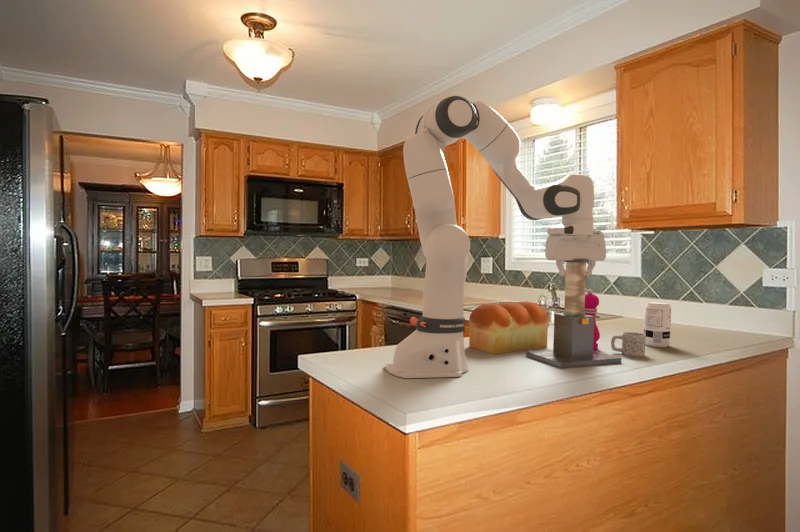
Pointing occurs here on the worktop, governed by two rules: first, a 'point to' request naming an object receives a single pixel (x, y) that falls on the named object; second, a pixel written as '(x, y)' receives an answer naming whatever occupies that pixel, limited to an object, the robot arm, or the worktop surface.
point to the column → (575, 287)
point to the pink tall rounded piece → (592, 313)
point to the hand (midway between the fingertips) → (575, 275)
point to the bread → (508, 327)
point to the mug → (630, 344)
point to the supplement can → (657, 324)
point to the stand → (573, 344)
